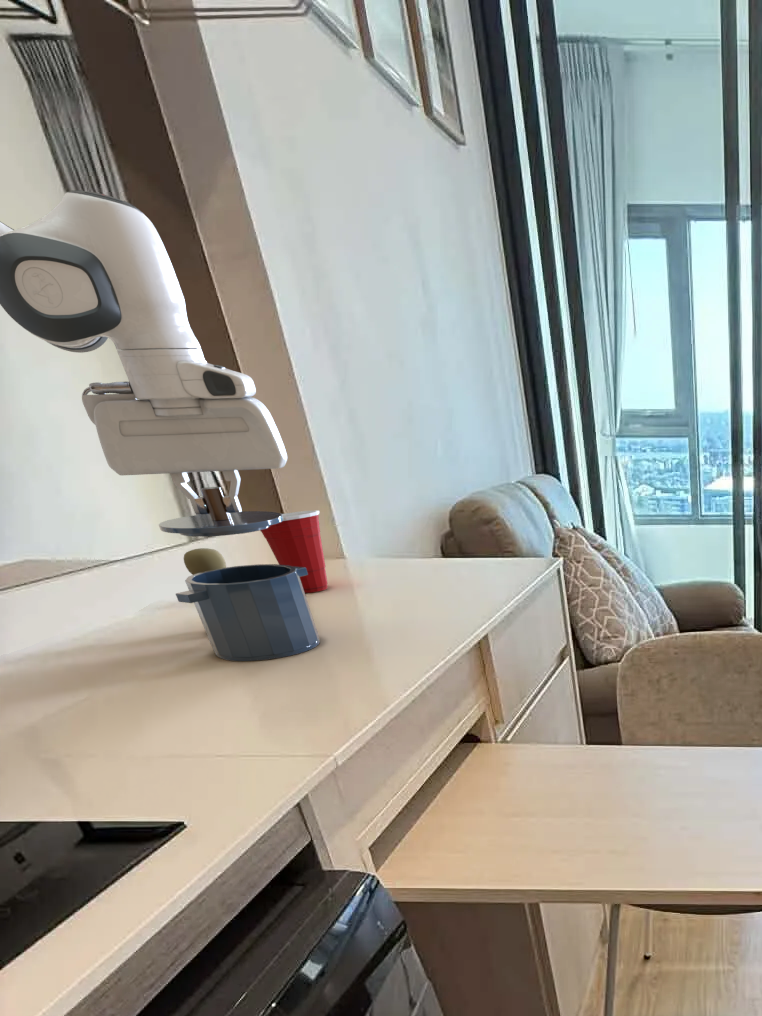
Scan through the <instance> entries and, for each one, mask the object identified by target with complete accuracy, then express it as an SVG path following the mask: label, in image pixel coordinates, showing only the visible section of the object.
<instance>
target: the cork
mask: <svg viewBox="0 0 762 1016" xmlns="http://www.w3.org/2000/svg"><path fill="white" fill-rule="evenodd" d="M183 563H184V565H185V568H186V570H187V571H188V572H189V573H190V574H191V575H194V574H197V573H200V572H205V571H209V570H214V569H220V568H227V563H226V560H225V558H224V557H223V555H222V554H221V552H220V551H218V550H216V549H214V548H206V547H204V548H203V547H202V548H201V547H199V548H194V549H191V550H188V551H186V552H185V553H184V554H183Z"/></svg>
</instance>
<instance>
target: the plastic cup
mask: <svg viewBox="0 0 762 1016" xmlns="http://www.w3.org/2000/svg"><path fill="white" fill-rule="evenodd" d="M281 514H282V516H283V521H282V522H280V523H277V524H274V525H270V527H268V528H266V529H263V530H260V532H261V533H262V535H263V537H264V539H265V540H266V542H267V544H268V546H269V548H270V550H271V552H272V554H273V556H274V558H275V559H276V562H277V564H278V565H290V566H292V567H293V566H296V567H306V570H307V573H308V575H306V576H301V577H300V580H301V583H302V586H303V589H304V592H305V594H308V593H310V594H311V593H317V592H322V591H325V590H327V589H328V578H327V572H326V562H325V555H324V549H323V542H322V538H321V528H320V519H319V517H320V516H319V515H320V510H318V509H317V510H316V509H315V510H303V511H295V512H287V513H281Z"/></svg>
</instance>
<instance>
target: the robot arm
mask: <svg viewBox="0 0 762 1016" xmlns="http://www.w3.org/2000/svg"><path fill="white" fill-rule="evenodd" d="M171 261H172V260H171V258H170V256H169V254H168V252H167V250H166V247H165V245H164V242H163V241H162V238H161V236H160V234H159V232H158V230H157V228H156V227H155V225H154V224H153V222H152V221H151V219H150V218H149V217H147V216H146V215H145V213H144V212H142V211H141V210H140V209H139V208H137V207H136V206H135V205H134V204H132V203H130V202H128V201H125V200H122V199H120V198H118V197H114V196H111V195H107V194H103V193H100V192H95V191H88V190H87V191H86V190H82V189H81V190H79V189H76V190H70V191H66V192H65V193H64V195H63V197H62V198H61V200H60V201H59V203H58V204H57V205H56V206H55V207H54V208H52V209H51V210H49V212H48V213H46V214H45V215H43V216H42V217H40V218H38V219H37V220H35V221H33V222H31V223H29V224H27V225H25V226H22V227H19V228H16V229H14V228H12V227H10V226H9V225H7V224H5V223H4V222H2V221H1V220H0V306H1V308H2V309H3V310H4V311H5V313H7V315H8V316H9V317H10V318H11V319H12V320H13V321H14V322H15V323H17V324H18V325H19V326H20V327H22V328H23V329H24V330H25V331H27V332H28V333H30V334H31V335H33V336H35V337H36V338H39V339H41V340H42V341H44V342H46V343H48V344H49V345H51V346H54V347H55V348H58V349H60V350H63V351H65V352H71V353H81V354H83V353H89V352H92V351H95V350H97V349H99V348H100V347H102V346H103V345H104V344H105V343H106V342H107V341H108V339H109V340H110V341H112V343H113V344H114V347H115V349H116V352H117V354H118V357H119V360H120V362H121V365H122V367H123V370H124V372H125V375H126V378H127V380H128V381H114V382H105V383H104V382H99V381H98V382H91V383H89V384H88V387H86V388H85V389H83V391H82V393H81V403H82V405H83V407H84V410H85V412H86V415H87V416H88V418H89V420H90V421H91V422H92V424H93V425H95V429H96V433H97V436H98V440H99V443H100V447H101V449H102V453H103V455H104V458H105V461H106V463H107V465H108V467H109V468H110V469H111V470H112V471H114V472H115V473H116V474H117V475H119V476H141V475H143V476H144V475H162V474H163V475H164V474H165V475H166V474H169V475H170V478H171V480H172V482H173V485H174V486H175V487H176V488H177V489H178V490H179V491H180V492H181V493H182V494H183V495H184V496H185V497H186V498H187V499H189V501H190V504H191V507H192V509H193V511H194V513H195V515H202V514H209V512H208V509H207V507H206V504H205V501H204V499H203V496H199V495H197V493H196V492H195V491H194V490H193V489H192V488H191V486H189V485H188V483H189V482H190V478H189V475H188V473H207V472H208V473H209V472H221V473H222V474H223V478H224V480H225V482H230V485H229V491H228V495H223V496H224V497H222V499H223V502H224V504H225V505H226V510H227V512H228V513H237V512H242V511H243V510H242V509H243V508H242V506H241V503H240V499H239V497H238V495H239V493H240V492H239V491H240V487H241V480H242V478H241V476H240V472H239V471H250V470H251V471H252V470H275V469H282V468H284V467H285V466H286V464H287V462H288V454H287V453H288V452H287V451H286V448H285V447H286V446H285V444H284V442H283V439H282V436H281V434H280V432H279V429H278V427H277V425H276V423H275V421H274V418H273V416H272V414H271V411H269V409H268V408H267V407H266V405H265V404H264V403H263V402H262V401H260V400H259V399H257V398H256V397H254V396H255V395H256V393H257V388H256V385H255V382H254V379H253V378H252V377H251V376H249V375H248V374H246V373H242V372H239V371H235V370H232V369H229V368H226V367H225V366H223V365H219V364H212V363H209V362H208V361H207V360H206V358H205V356H204V353H203V350H202V347H201V344H200V342H199V341H198V339H197V337H196V336H195V333H194V332H193V329H192V328H191V325H190V323H189V319H188V313H187V307H186V301H185V296H184V293H183V291H182V288H181V286H180V282H179V280H178V277H177V274H176V272H175V269H174V266H173V264H172V262H171ZM89 393H92V394H89Z"/></svg>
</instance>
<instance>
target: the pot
mask: <svg viewBox="0 0 762 1016" xmlns="http://www.w3.org/2000/svg"><path fill="white" fill-rule="evenodd" d="M306 575H308V573H307V570H306V567H296V566H293V567H292V566H290V565H279V563H277V564H276V563H275V564H273V563H272V564H271V563H269V564H268V563H267V564H263V563H262V564H259V563H258V564H247V565H237V566H236V565H235V566H226V568H220V569H214V570H209V571H205V572H200V573H197V574H194V575H192V574H191V575H189V576H187V577H186V578H185V580H184V582H185V584H186V587H187V590H184V591H180V592H177V593H175V596H176V598H177V599H176V600H177V601H178V602H179V603H185V604H194V606H195V609H196V611H197V614H198V616H199V619H200V621H201V624H202V626H203V629H204V631H205V633H206V636H207V638H208V641H209V643H210V646H211V649H212V652H214V653H215V655H216V657H217V658H219V659H221V660H225V661H232V662H233V661H234V662H254V661H255V662H256V661H268V660H274V659H280V658H285V657H291V656H295V655H299V654H302V653H305V652H308V651H310V650H313V649H314V648H316V647H317V646H318V645H319V644H320V642H321V641H320V635H319V632H318V629H317V626H316V623H315V619H314V618H313V614H312V611H311V608H310V605H309V602H308V599H307V596H306V593H305V592H304V589H303V586H302V583H301V580H300V577H301V576H306Z"/></svg>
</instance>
